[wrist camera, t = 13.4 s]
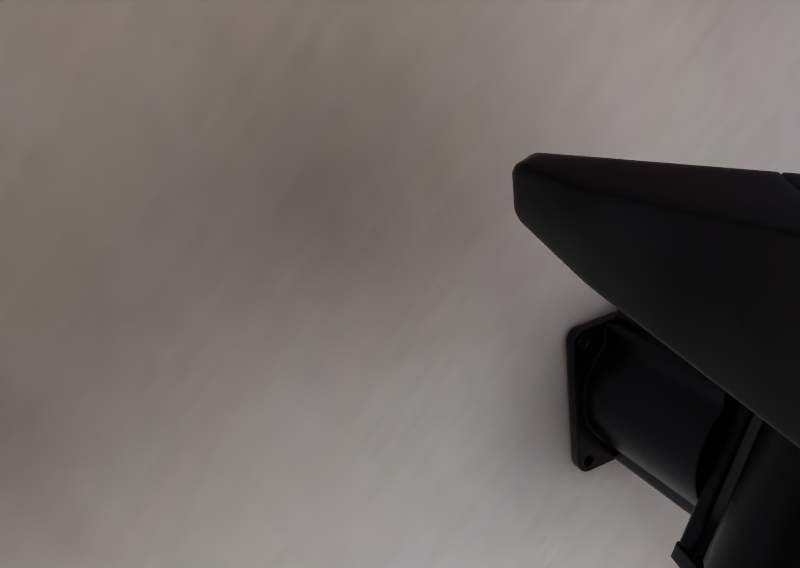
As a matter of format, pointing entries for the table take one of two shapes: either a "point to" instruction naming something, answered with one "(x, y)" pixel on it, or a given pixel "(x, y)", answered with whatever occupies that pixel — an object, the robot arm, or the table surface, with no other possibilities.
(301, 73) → the table surface
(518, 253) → the table surface
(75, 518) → the table surface
